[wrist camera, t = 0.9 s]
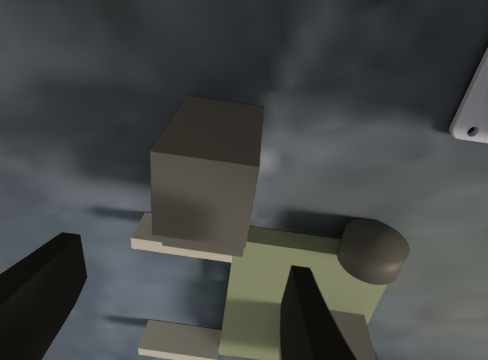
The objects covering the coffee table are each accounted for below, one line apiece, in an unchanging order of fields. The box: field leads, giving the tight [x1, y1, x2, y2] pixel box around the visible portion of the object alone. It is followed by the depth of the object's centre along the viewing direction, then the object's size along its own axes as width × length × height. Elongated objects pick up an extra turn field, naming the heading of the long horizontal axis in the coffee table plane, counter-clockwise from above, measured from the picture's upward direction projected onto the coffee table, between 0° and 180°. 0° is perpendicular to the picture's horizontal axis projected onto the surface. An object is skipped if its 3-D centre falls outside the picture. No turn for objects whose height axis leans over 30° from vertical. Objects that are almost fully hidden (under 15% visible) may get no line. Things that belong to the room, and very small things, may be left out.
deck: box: [131, 212, 410, 360], centre depth 23 cm, size 16×16×6 cm
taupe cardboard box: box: [150, 96, 264, 257], centre depth 17 cm, size 4×6×6 cm, turn 173°
